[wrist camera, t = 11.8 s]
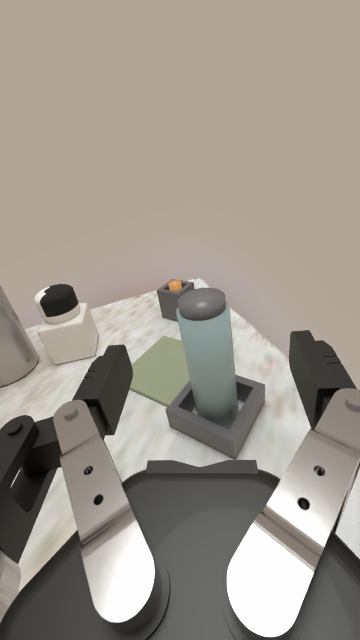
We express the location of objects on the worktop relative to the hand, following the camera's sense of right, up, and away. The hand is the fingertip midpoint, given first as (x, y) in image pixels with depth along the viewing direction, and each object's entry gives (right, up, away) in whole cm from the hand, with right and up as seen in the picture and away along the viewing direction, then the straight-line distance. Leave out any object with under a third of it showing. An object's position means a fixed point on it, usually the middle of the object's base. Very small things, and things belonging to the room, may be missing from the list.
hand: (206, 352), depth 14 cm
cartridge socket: (+3, -10, +20) cm, 23 cm away
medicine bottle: (-20, -4, +37) cm, 42 cm away
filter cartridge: (+3, -10, +20) cm, 23 cm away
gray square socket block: (-1, +3, +42) cm, 42 cm away
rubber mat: (-3, -6, +28) cm, 29 cm away
